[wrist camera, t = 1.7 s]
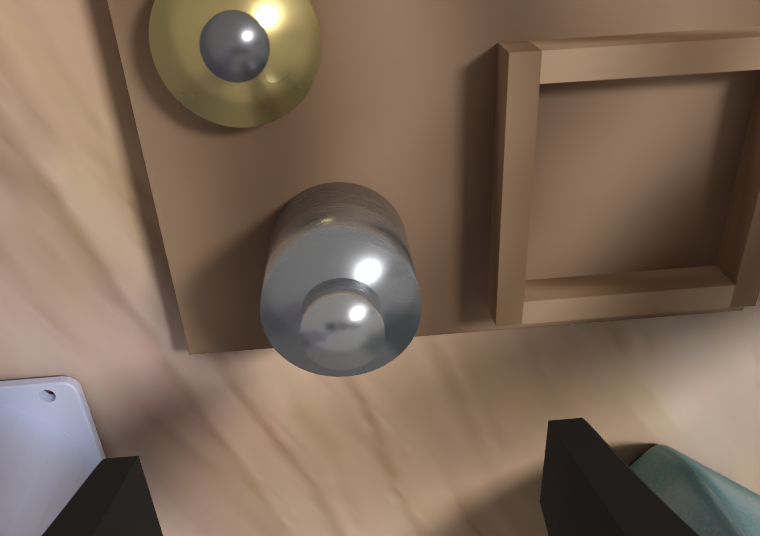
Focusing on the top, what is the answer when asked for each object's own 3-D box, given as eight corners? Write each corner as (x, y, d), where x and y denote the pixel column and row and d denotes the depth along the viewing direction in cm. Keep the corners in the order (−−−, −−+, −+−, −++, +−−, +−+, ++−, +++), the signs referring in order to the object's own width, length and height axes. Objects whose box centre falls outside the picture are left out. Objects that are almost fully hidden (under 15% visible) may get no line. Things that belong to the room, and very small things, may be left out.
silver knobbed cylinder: (278, 307, 21) (268, 408, 17) (261, 187, 19) (244, 268, 15) (408, 297, 21) (428, 395, 17) (404, 177, 19) (426, 255, 15)
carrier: (195, 336, 22) (182, 378, 20) (103, -70, 16) (74, -65, 14) (726, 293, 23) (763, 331, 21) (827, -110, 17) (891, -110, 15)
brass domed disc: (174, 121, 18) (165, 136, 17) (140, -46, 16) (127, -41, 15) (327, 111, 18) (327, 125, 17) (312, -56, 16) (312, -52, 15)
